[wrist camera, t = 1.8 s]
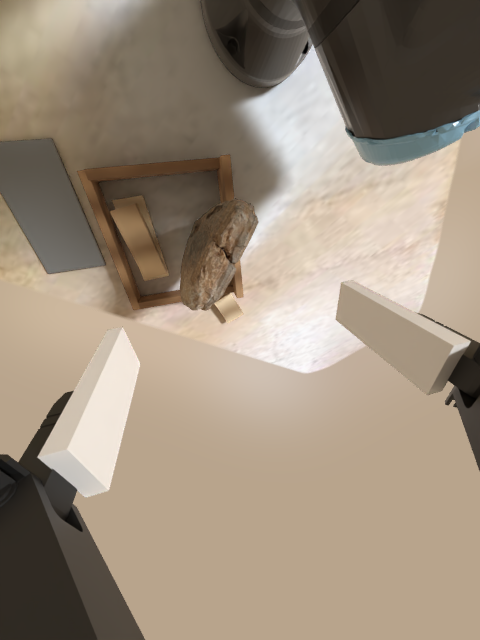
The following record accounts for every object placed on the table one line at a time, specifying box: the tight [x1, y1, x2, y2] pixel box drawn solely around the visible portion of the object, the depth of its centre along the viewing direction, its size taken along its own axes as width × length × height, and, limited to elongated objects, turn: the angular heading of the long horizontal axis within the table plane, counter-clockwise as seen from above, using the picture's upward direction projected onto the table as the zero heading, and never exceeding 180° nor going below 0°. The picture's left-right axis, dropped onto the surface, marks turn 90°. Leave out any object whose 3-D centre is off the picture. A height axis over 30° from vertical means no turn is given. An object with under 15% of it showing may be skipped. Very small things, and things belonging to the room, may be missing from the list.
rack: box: [77, 155, 243, 310], centre depth 35 cm, size 21×20×6 cm
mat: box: [0, 138, 106, 274], centre depth 32 cm, size 17×9×1 cm, turn 5°
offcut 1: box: [112, 195, 169, 281], centre depth 37 cm, size 13×4×2 cm, turn 8°
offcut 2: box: [109, 203, 167, 280], centre depth 35 cm, size 11×4×2 cm, turn 14°
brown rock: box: [180, 198, 258, 311], centre depth 30 cm, size 14×5×20 cm, turn 150°
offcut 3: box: [214, 293, 243, 323], centre depth 47 cm, size 6×4×2 cm, turn 28°
